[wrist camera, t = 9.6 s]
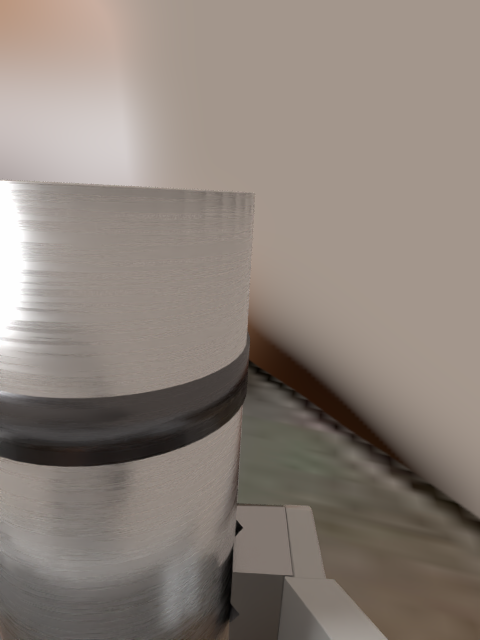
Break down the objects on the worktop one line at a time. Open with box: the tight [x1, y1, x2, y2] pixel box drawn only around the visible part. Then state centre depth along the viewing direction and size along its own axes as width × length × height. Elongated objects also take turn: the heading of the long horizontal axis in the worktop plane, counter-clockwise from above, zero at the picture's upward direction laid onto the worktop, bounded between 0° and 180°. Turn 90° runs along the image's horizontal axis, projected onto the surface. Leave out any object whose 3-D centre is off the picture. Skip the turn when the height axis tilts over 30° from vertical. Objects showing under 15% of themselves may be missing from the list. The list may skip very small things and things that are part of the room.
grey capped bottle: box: [0, 180, 255, 640], centre depth 8 cm, size 4×4×14 cm
